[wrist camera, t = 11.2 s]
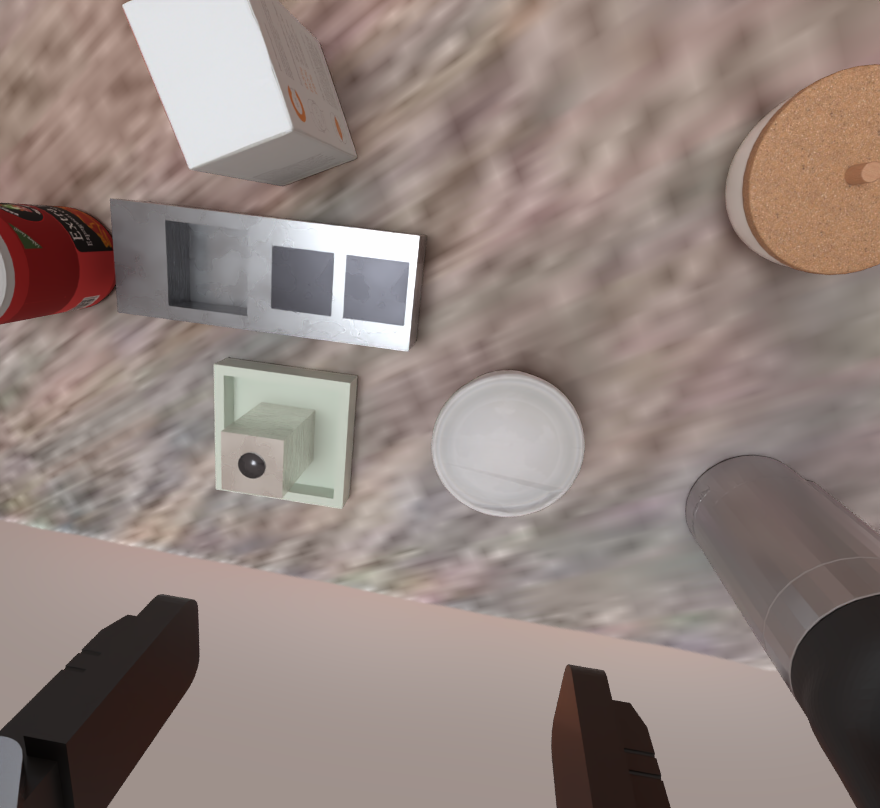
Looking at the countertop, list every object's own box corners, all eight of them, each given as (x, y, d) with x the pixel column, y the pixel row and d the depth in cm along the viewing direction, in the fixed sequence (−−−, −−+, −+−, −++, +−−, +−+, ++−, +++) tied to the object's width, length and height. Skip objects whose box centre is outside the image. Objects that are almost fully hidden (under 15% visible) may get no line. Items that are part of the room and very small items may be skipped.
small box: (238, 73, 39) (116, 0, 27) (319, 38, 38) (231, -55, 25) (281, 189, 41) (186, 172, 29) (360, 160, 40) (296, 129, 27)
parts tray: (357, 375, 45) (350, 383, 42) (349, 496, 48) (342, 508, 46) (227, 357, 45) (213, 364, 43) (228, 477, 49) (215, 489, 47)
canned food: (133, 231, 43) (15, 231, 33) (111, 323, 46) (-5, 351, 35) (42, 189, 43) (-106, 176, 32) (25, 284, 45) (-117, 300, 35)
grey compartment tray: (427, 235, 41) (419, 236, 37) (416, 340, 43) (408, 351, 39) (144, 201, 42) (108, 198, 38) (150, 305, 45) (117, 312, 41)
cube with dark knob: (315, 409, 45) (283, 440, 39) (313, 460, 47) (281, 499, 40) (261, 401, 46) (220, 431, 39) (260, 452, 47) (220, 489, 40)
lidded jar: (748, 74, 36) (831, 22, 27) (904, 129, 36) (1037, 95, 27) (674, 237, 39) (725, 239, 30) (815, 287, 39) (908, 304, 30)
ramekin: (464, 502, 47) (460, 535, 42) (418, 384, 44) (407, 403, 39) (592, 466, 45) (604, 495, 40) (552, 339, 42) (559, 353, 37)
